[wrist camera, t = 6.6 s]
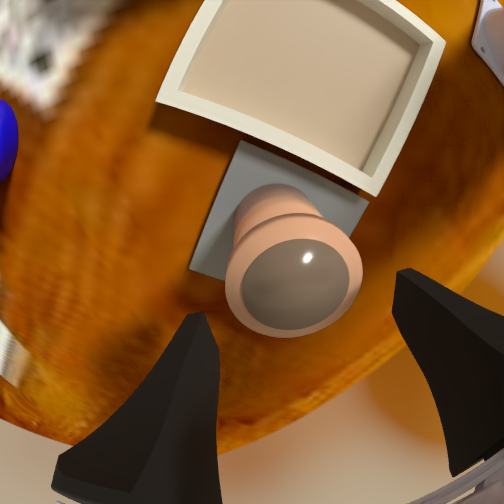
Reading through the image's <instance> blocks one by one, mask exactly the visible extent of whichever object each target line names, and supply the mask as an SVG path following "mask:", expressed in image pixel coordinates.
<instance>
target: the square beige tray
mask: <svg viewBox="0 0 504 504" xmlns="http://www.w3.org/2000/svg"><path fill="white" fill-rule="evenodd" d="M445 44H446V41H445V40H443V39H442V38H441V37H440V36H439V35H438V34H437V33H436V32H435V31H434V30H432V29H431V28H430V27H429V26H428V25H427V24H425V23H424V22H423V21H422V20H421V19H419V18H418V17H417V16H416V15H414V14H413V13H412V12H411V11H409V10H408V9H407V8H405V7H404V6H403V5H401V4H400V3H399V2H397V1H396V0H205V1H204V3H203V4H202V6H201V8H200V9H199V11H198V13H197V15H196V16H195V18H194V20H193V22H192V24H191V25H190V27H189V29H188V31H187V33H186V35H185V37H184V39H183V41H182V43H181V45H180V47H179V49H178V51H177V53H176V55H175V57H174V59H173V61H172V63H171V66H170V68H169V70H168V72H167V75H166V77H165V79H164V81H163V84H162V86H161V89H160V91H159V93H158V96H157V98H156V102H160V103H163V104H166V105H169V106H173V107H176V108H179V109H182V110H185V111H188V112H191V113H194V114H197V115H200V116H202V117H205V118H208V119H211V120H213V121H216V122H219V123H221V124H224V125H227V126H229V127H232V128H234V129H237V130H239V131H242V132H244V133H247V134H249V135H252V136H254V137H257V138H259V139H261V140H264V141H266V142H268V143H270V144H273V145H275V146H277V147H279V148H282V149H284V150H286V151H288V152H290V153H293V154H295V155H297V156H299V157H301V158H303V159H305V160H307V161H309V162H311V163H313V164H315V165H317V166H319V167H321V168H323V169H325V170H327V171H329V172H331V173H333V174H335V175H337V176H339V177H341V178H343V179H344V180H346V181H348V182H350V183H352V184H354V185H355V186H357V187H359V188H361V189H363V190H364V191H366V192H368V193H370V194H371V195H373V196H375V197H377V195H378V193H379V191H380V190H381V188H382V186H383V184H384V182H385V180H386V178H387V176H388V174H389V172H390V171H391V169H392V167H393V165H394V163H395V161H396V159H397V157H398V155H399V153H400V151H401V149H402V147H403V145H404V143H405V140H406V138H407V136H408V134H409V132H410V130H411V128H412V126H413V123H414V121H415V119H416V117H417V115H418V112H419V110H420V108H421V105H422V103H423V101H424V98H425V96H426V94H427V91H428V89H429V86H430V84H431V82H432V79H433V77H434V74H435V71H436V69H437V66H438V64H439V61H440V58H441V55H442V53H443V50H444V47H445Z"/></svg>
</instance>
